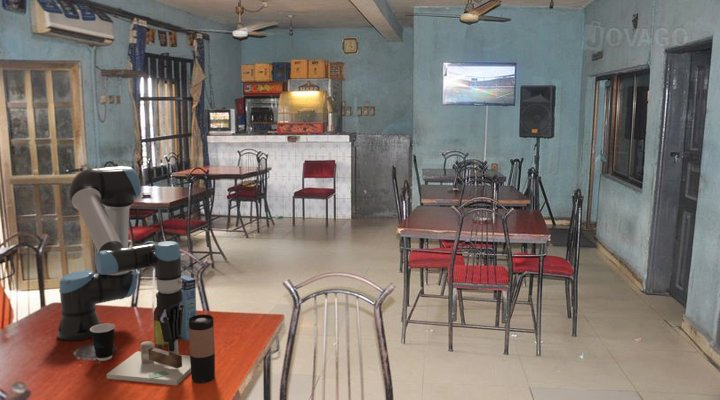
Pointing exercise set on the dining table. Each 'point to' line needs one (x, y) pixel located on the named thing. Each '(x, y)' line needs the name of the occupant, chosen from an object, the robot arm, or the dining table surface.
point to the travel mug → (202, 348)
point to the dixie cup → (103, 340)
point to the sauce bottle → (158, 327)
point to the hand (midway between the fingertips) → (174, 359)
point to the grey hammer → (159, 355)
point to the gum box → (187, 304)
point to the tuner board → (150, 371)
